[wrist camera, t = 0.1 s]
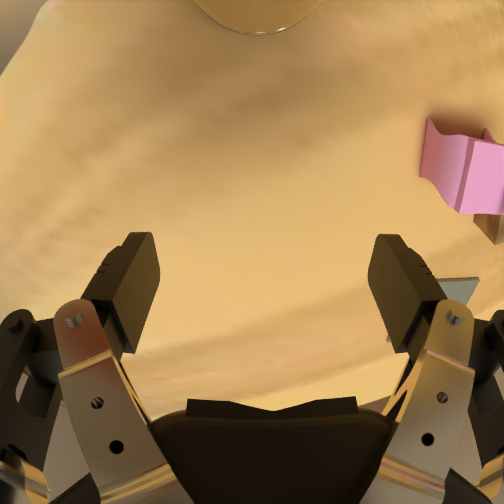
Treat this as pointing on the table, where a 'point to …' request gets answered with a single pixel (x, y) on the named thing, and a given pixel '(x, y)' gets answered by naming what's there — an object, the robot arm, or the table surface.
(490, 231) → the walnut block
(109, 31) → the table surface
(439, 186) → the toy chair
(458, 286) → the coaster
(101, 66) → the table surface
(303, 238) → the table surface
